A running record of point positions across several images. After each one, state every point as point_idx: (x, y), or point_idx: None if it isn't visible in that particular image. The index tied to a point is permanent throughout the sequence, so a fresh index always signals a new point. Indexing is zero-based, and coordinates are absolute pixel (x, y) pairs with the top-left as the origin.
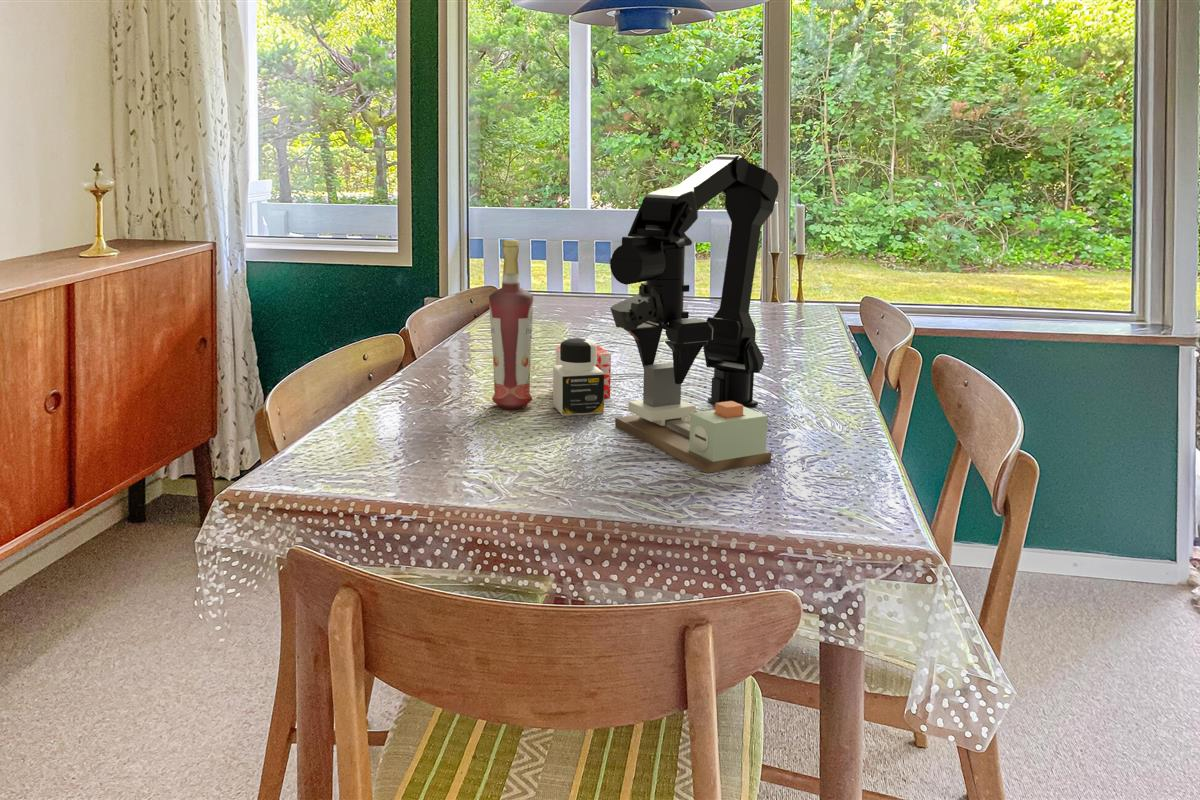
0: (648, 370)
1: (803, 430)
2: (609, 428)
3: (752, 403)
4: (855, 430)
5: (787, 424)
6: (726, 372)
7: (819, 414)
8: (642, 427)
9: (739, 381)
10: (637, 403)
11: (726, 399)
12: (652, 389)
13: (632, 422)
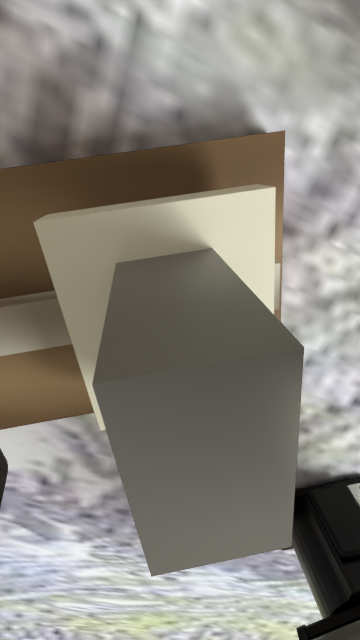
0: (199, 345)
1: (72, 563)
2: (262, 100)
3: None
4: (53, 620)
5: (126, 551)
6: (349, 593)
7: (175, 601)
8: (101, 188)
9: (315, 583)
10: (215, 216)
11: (307, 512)
12: (123, 295)
13: (188, 177)
